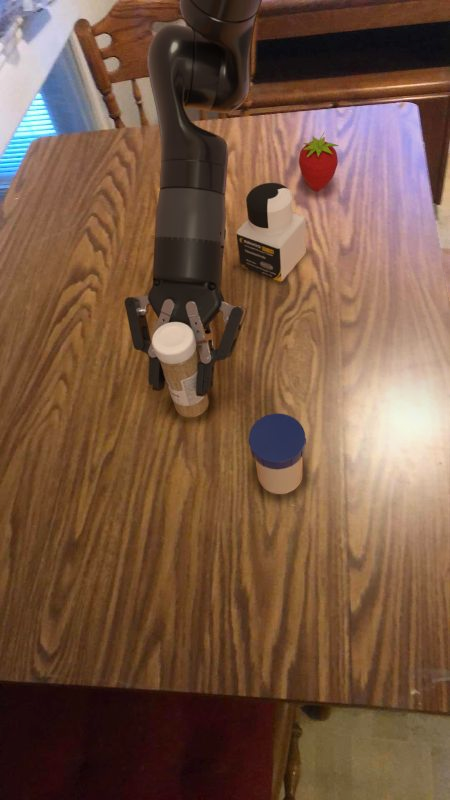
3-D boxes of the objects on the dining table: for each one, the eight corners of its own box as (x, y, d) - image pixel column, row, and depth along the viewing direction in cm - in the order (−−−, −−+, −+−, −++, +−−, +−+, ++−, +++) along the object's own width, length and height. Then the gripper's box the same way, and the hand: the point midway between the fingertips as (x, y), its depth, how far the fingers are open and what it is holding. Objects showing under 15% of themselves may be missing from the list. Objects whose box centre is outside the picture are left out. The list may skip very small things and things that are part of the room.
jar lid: (296, 416, 59) (296, 407, 58) (312, 462, 56) (312, 454, 55) (244, 428, 59) (243, 420, 58) (257, 475, 56) (256, 468, 55)
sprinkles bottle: (168, 404, 71) (143, 333, 60) (199, 385, 72) (179, 313, 61) (187, 428, 69) (164, 360, 58) (218, 409, 70) (201, 338, 59)
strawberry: (331, 174, 94) (333, 115, 85) (340, 202, 89) (344, 143, 81) (295, 180, 94) (294, 122, 86) (303, 208, 90) (302, 149, 81)
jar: (295, 452, 65) (294, 413, 58) (308, 491, 62) (308, 454, 55) (253, 463, 65) (247, 424, 58) (264, 501, 62) (258, 466, 55)
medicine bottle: (239, 270, 83) (230, 201, 74) (266, 241, 86) (260, 170, 76) (281, 286, 80) (277, 216, 71) (306, 255, 83) (306, 184, 74)
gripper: (113, 230, 59) (107, 390, 63) (247, 238, 56) (233, 406, 59) (141, 237, 66) (134, 380, 70) (261, 244, 63) (247, 394, 66)
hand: (180, 391), depth 64 cm, fingers open, 4 cm apart
